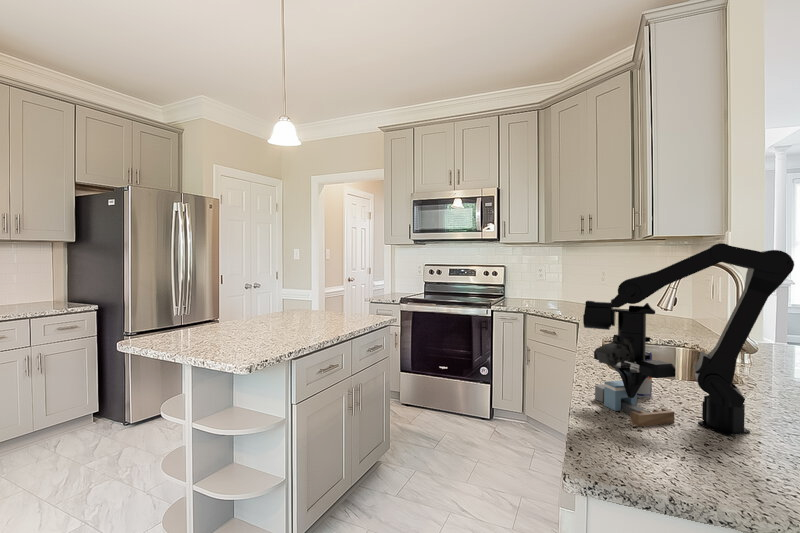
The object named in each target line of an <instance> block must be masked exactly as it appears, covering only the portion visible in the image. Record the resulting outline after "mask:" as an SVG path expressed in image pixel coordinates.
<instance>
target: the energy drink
mask: <svg viewBox="0 0 800 533" xmlns="http://www.w3.org/2000/svg"><path fill="white" fill-rule="evenodd" d="M646 354H648V355H650V359H647V360H645V361H651V360H653V354H652V351H651V350H648V349H646ZM635 363H637V362H635ZM652 388H653V378H651V377H648V376H647V378H646V379H645V380H644V382H643V383H642V385H641V386H640V388H639V390H638V392H637V399H647V400H648V399H651V397H652V394H653V393H652V392H653V390H652Z"/></svg>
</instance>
